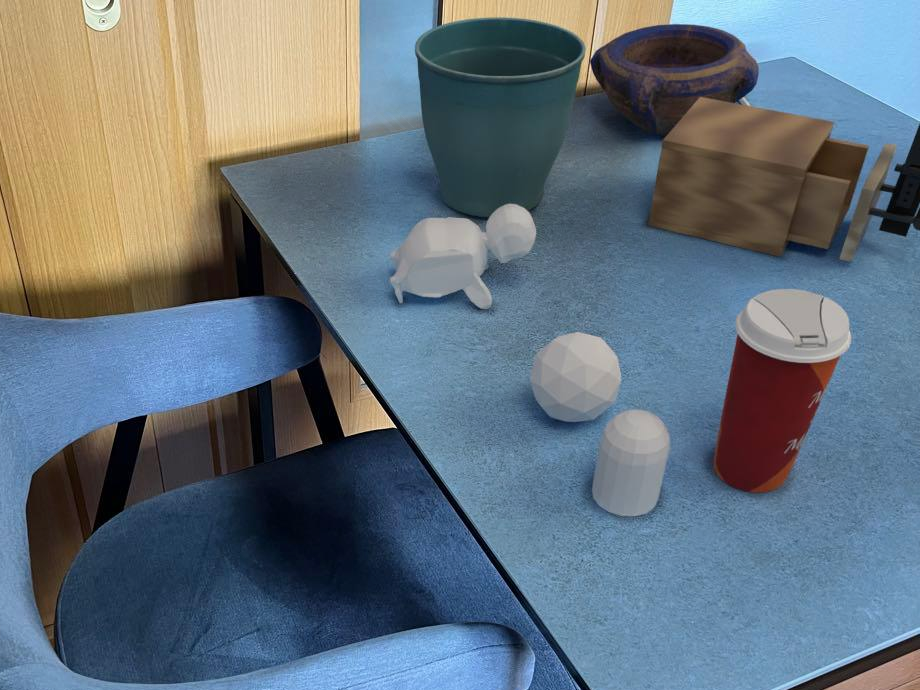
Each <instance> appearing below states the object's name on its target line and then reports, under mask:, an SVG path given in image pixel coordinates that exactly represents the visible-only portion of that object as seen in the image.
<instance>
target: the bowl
mask: <svg viewBox="0 0 920 690" xmlns="http://www.w3.org/2000/svg"><path fill="white" fill-rule="evenodd" d="M589 64H590V69H591V71H592V74H593V76H594V78H595V80H596V82H597V83H598V84H599V86H600V87H601V89H602V90H603V91H604V92H605V94H606V96H607V98H608V100H609V102H610V104H611V105H612V106H613V107H614V108H615V110H617V112H618V113H619V114H620V115H622V116H623V117H624V118H625V119H627V120H628V121H630V122H631V123H632V124H633V125H635V126H636V127H637V128H638V129H640V130H642V131H643V132H644V131H645V132H647V133H651V134H653V135H658V136H665V137H666V136H667V135H668V134H669V133H670V131H671V130H672V129H673V128H674V127H675V126H676V124H677V123H678V122H679V121H680V120H681V119H682V117H683V116H684V115H685V114H686V113H687V112H688V110H689V109H690V108H691V107H692V106H693V105H694V103H695V102H696V101H697V100H698V99H699V98H700V97H703V98H709V99H714V100H719V101H725V102H730V103H736V104H737V102H740V101H739V100H740V99H742V98H743V97H746V96H747V95H748V94H750V93H751V92H752V91H754V89H755V87H756V86H757V84H758V79H759V72H760V71H759V65H758V62H757V61H756V59H755V58H754V57H753V56H752V55H751V54H750V53H749V51H748V50H747V46H746V44H745V43H744V42H743V41H742V40H741V39H739V38H738V37H737V36H735V35H734V34H732V33H730V32H728V31H725V30H723V29H720V28H717V27H716V28H715V27H712V26H708V25H707V26H706V25H699V24H689V23H688V24H686V23H671V24H655V25H650V26H645V27H640V28H637V29H634V30H629V31H627V32H625V33H622V34H621V35H619V36H617V37H615V38H613V39H612V40H610V41H609V42H607V43H606V44H605V45H602V46H600V47H599V48H597V49H596V50H595V52H594V53H593V55H592V57H591V58H590V60H589Z"/></svg>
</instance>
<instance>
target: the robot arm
mask: <svg viewBox="0 0 920 690" xmlns="http://www.w3.org/2000/svg"><path fill="white" fill-rule="evenodd" d="M893 172H897V173H899V175H898V178H897V180H896V183H895V185H894V186H895V188H894V191H893V193H891V196H890V199H889V201H888V203H887V207H886V209H885V210H886V211H891V212H896V213H901V214H905V215H910V216H915V217H916V215H917V212H918V210H919V207H920V123H919V124H918V127H917V129H916V131H915V135H914V138H913V140H912V143H911V145H910V148H909V151H908V153H907V156H906V159H905V161H904V163H903V164H901V163H895V166H894V169H893ZM911 226H912V224H910V223H905V222H900V221H896V220H891V219H886V218H882V220H881V223H880V225H879V228H878V231H881V232H885V233H889V234H893V235H897V236H901V237H907V235H908V232H909V230H910V228H911Z"/></svg>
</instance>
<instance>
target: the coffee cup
mask: <svg viewBox="0 0 920 690" xmlns="http://www.w3.org/2000/svg"><path fill="white" fill-rule="evenodd" d="M734 322H735V323H734V327H735V332H736V333H737V335H736V341H735V345H734V349H733V350H734V351H733V355H732V361H731V365H730V371H729V376H728V381H727V385H726V390H725V391H726V392H725V396H724V401H723V407H722V412H721V418H720V421H719V428H718V433H717V438H716V439H717V440H716V443H715V444H716V445H715V450H714V456H713V469H714V472H715V473H716V475H717V477H718V478H719V479H720V480H722V482H723V483H725V484H727V485H728V486H730V487H732V488H734V489H736V490H739V491H742V492H747V493H753V494H754V493H755V494H757V493H758V494H762V493H768V492H772V491H775V490H777V489H779V488H781V487H782V486H783V485H784V483H785V482H786V480H787V479H788V477H789V475H790V473H791V471H792V468H793V466H794V465H795V461H796V460H797V458H798V455H799V453H800V451H801V448H802V446H803V443H804V442H805V439H806V437H807V434H808V432H809V430H810V427H811V425H812V423H813V420H814V419H815V416H816V413H817V411H818V409H819V406H820V404H821V401H822V399H823V397H824V395H825V392H826V390H827V387H828V385H829V383H830V380H831V379H832V376H833V373H834V372H835V369H836V367H837V365H838V362H839V360H840V357H841V356H842V355H843V354H845V353H846V352H847V350H849V348H850V346H851V343H852V334H851V330H850V325H851V324H850V323H851V322H850V319H849V315H848V314H847V312H846V311H845V310H844V308H843V307H842V306H841V305H840V304H838V303H837V302H836V301H834V300H832V299H831V298H829V297H827V296H825V295H821V294H819V293H814V292H811V291H808V290H803V289H795V288H777V289H770V290H767V291H763V292H761V293H759V294H757V295H755V296H754V297H752V298H750V299H749V300H748V302H747V303H746V305H745V307H744V308H743V309H742V310H740V311H739V313H737V316H736V318H735V321H734Z"/></svg>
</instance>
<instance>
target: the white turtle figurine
mask: <svg viewBox="0 0 920 690" xmlns="http://www.w3.org/2000/svg"><path fill="white" fill-rule="evenodd" d="M536 236H537V227H536V225H535V223H534V219H533V217H532V214H531V213H530V211H529V210H528V211H527V210H526V209H525V208H523V207H521V206H518V205H517V204H506V205H503V206H501V207H500V208H498V209H497V210H495V212H493V213H492V215H491V216H490V217H488V218H487V221H486V225H485V230H483V231H482V229H481V227H479V225H478V224H476V223H475V222H473V221H472V220H471V219H468V218H465V217H451V216H448V217H426V218H424V219H421V220H420V221H418V222H417V223H416V224H415V225H414V226H413V227H412V229H411V230H410V233H409V235H407V237H406V238H405V240H404V241H403V242H402V243H401V244H400V245H399V247H398V248H397V249H396V250H392V251H391V252H390V255H389V258H390V259H391V261H392V263H393V266H394V268H395V269H396V271H395V273H394V274H393V276H391V277H390V278H389V282H390V284H391V286H392V288H393V289H394V293H395V296H396V298H397V300H398V303H399V305H400V304H403V302H404V300H403V293H404V292H406V293H410V294H412V295H415V296H420V297H422V298H435V299H436V298H441V297H443V296H447V295H450V294H453V293H455V292H458V291H461V290H462V291H463V292H464V293H465V295H466V296H467V297H468V299H469V300H470V301H471V303H473V304H474V305H475V306H477V307H478V308H480V310H488V309H490V308H491V307H492V302H493V301H492V300H493V297H492V294H491V292H490V290H489V288H488V287H487V285H486V284H485V282H484V281H483V280H482V278H481V276H482V275H483V274H484V273H485V271H486V270H488V269H489V265H488V261H489V251H490V252H491V253H492V254H493V255H494V256H495V258H496V259H497V260H498V261H499V262H500V263H501V264H506V263H508V262H509V261H511V260H514V259H521V258H523V257H525V256H526V255H527V254H529V253H530V252H531V250H532V248H533V246H534V244H535V242H536Z"/></svg>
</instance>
